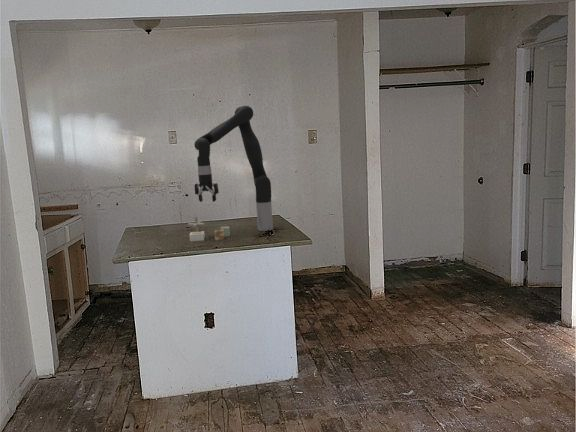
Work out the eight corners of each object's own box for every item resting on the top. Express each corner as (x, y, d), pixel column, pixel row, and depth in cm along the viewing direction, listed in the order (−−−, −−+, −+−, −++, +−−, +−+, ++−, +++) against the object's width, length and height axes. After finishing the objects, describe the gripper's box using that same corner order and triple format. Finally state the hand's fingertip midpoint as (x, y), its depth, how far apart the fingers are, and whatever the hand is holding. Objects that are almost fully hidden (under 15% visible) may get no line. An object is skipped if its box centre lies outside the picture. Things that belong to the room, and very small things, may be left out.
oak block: (224, 237, 299) (223, 229, 298) (224, 239, 294) (223, 231, 294) (215, 238, 299) (215, 229, 298) (215, 240, 294) (214, 231, 293)
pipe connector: (202, 234, 312) (200, 218, 311) (186, 234, 314) (185, 218, 313) (207, 230, 322) (206, 215, 320) (192, 230, 324) (191, 215, 322)
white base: (204, 237, 303) (204, 230, 302) (204, 240, 295) (203, 233, 294) (191, 238, 302) (190, 231, 302) (190, 241, 294) (189, 234, 294)
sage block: (229, 234, 307) (229, 226, 306) (229, 236, 302) (229, 228, 302) (221, 235, 307) (220, 226, 306) (221, 236, 302) (220, 228, 301)
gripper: (219, 172, 296) (221, 200, 299) (197, 173, 301) (200, 200, 304) (212, 173, 289) (215, 202, 292) (190, 174, 294) (193, 202, 297)
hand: (207, 201), depth 298 cm, fingers open, 8 cm apart
